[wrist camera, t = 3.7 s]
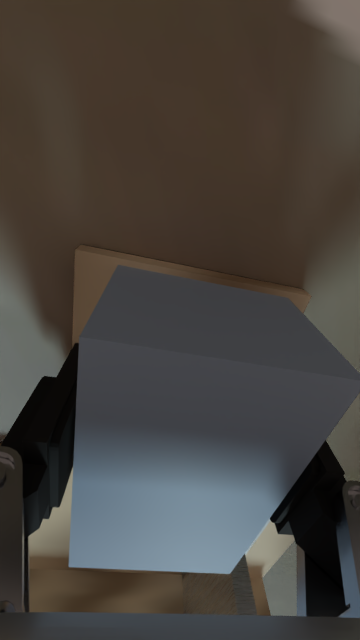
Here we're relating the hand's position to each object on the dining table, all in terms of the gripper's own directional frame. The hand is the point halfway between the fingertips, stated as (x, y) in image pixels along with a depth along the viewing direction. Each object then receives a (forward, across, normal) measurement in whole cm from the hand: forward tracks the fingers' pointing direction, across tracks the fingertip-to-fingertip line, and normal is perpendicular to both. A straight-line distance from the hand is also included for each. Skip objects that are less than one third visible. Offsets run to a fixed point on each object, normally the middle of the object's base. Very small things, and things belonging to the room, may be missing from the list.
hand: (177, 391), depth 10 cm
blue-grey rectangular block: (0, 0, 0) cm, 0 cm away
